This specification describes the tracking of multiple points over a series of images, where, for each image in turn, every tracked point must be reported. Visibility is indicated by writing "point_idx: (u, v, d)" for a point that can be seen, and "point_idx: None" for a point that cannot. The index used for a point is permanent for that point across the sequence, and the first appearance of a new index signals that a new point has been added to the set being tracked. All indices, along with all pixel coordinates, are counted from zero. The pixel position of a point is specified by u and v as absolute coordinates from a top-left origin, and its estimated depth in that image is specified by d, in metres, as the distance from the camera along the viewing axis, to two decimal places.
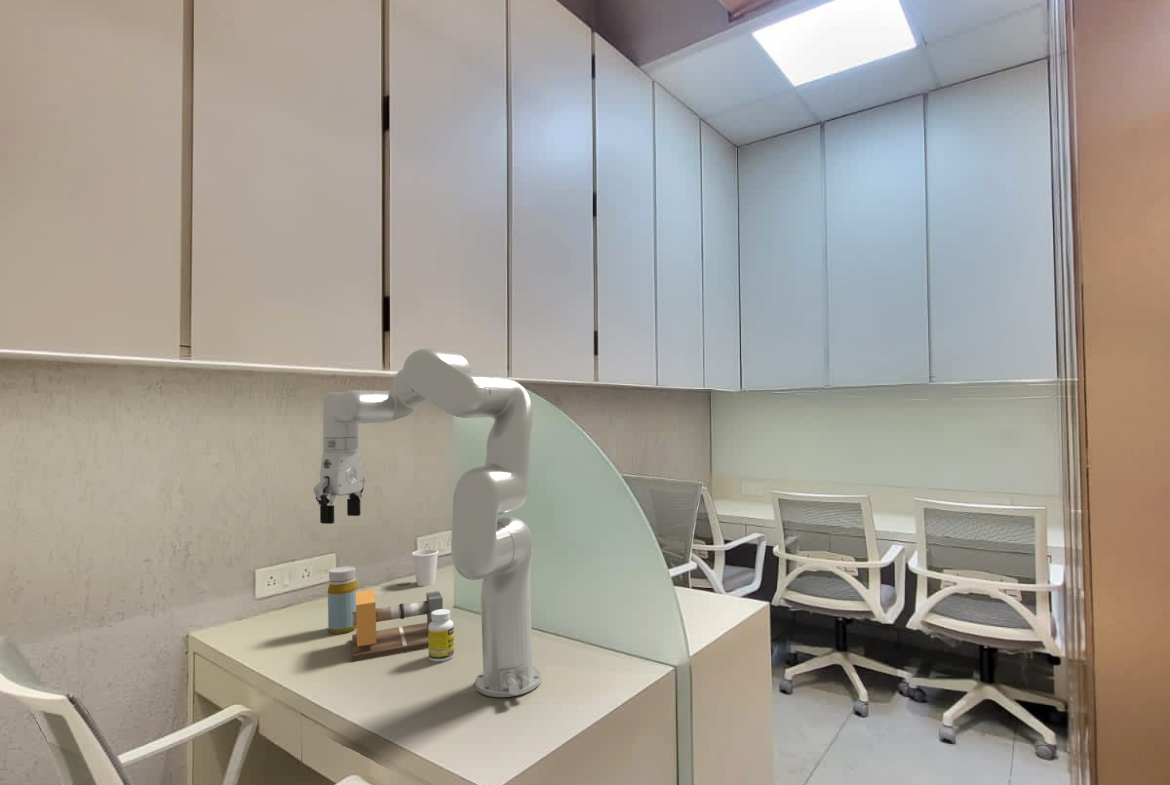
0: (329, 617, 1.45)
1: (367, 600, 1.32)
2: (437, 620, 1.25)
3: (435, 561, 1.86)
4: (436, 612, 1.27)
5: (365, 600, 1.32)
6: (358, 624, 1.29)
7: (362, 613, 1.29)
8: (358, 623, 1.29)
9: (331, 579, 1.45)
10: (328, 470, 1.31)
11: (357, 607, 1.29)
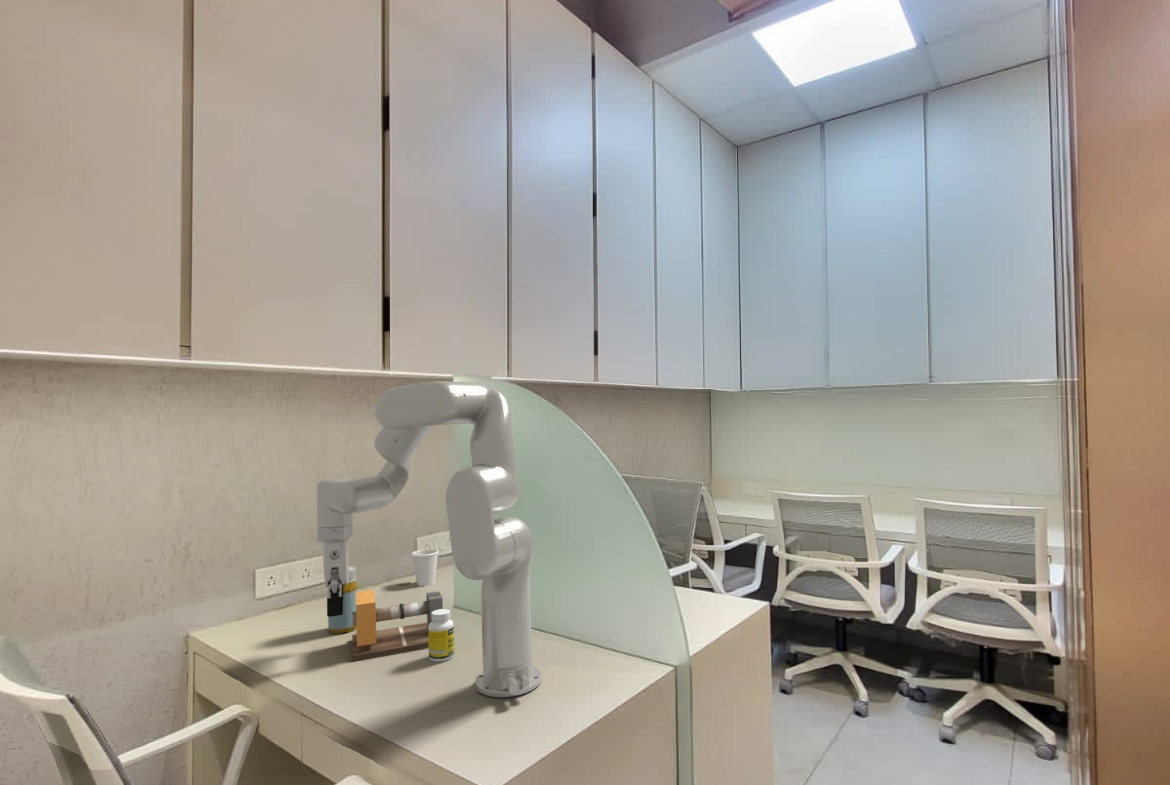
0: (329, 617, 1.45)
1: (367, 600, 1.32)
2: (437, 620, 1.25)
3: (435, 561, 1.86)
4: (436, 612, 1.27)
5: (365, 600, 1.32)
6: (358, 624, 1.29)
7: (362, 613, 1.29)
8: (358, 623, 1.29)
9: None
10: (336, 561, 1.29)
11: (357, 607, 1.29)
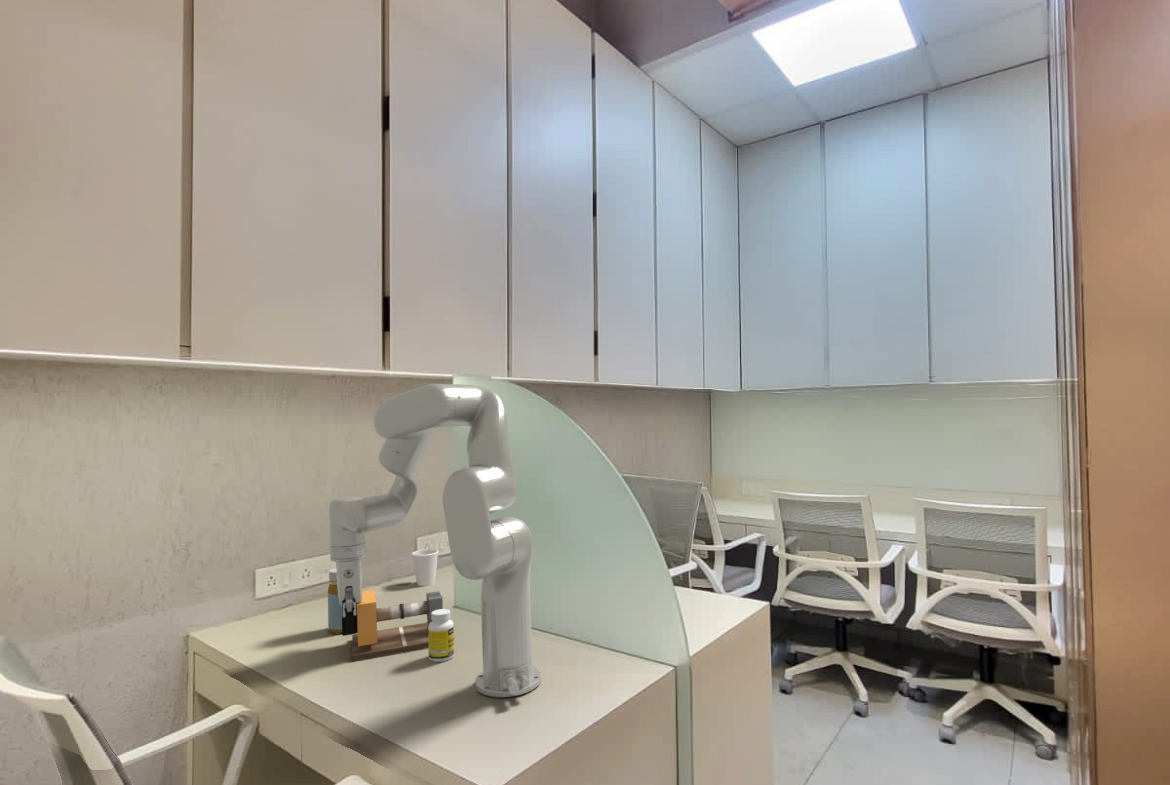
0: (329, 617, 1.45)
1: (368, 600, 1.32)
2: (437, 620, 1.25)
3: (435, 561, 1.86)
4: (436, 612, 1.27)
5: (366, 600, 1.32)
6: (359, 624, 1.29)
7: (363, 613, 1.29)
8: (359, 623, 1.29)
9: (331, 579, 1.45)
10: (350, 579, 1.29)
11: (358, 607, 1.29)
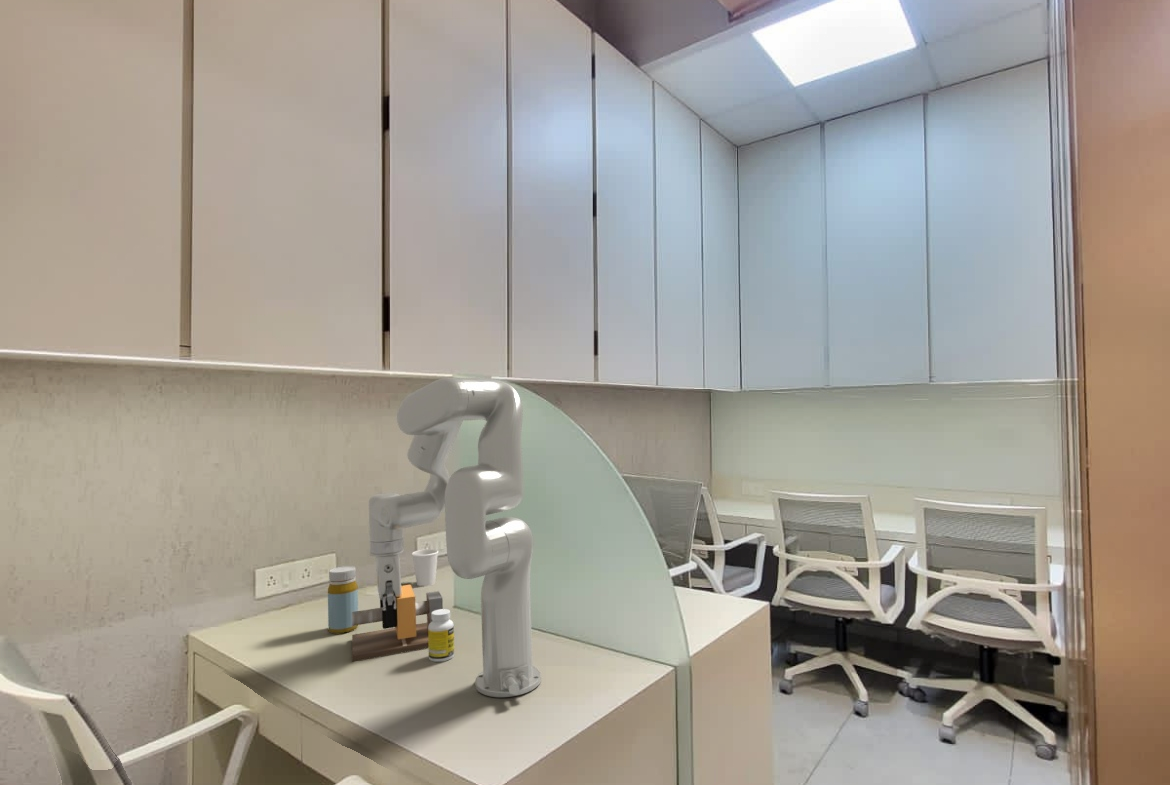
0: (329, 617, 1.45)
1: (407, 594, 1.35)
2: (437, 620, 1.25)
3: (435, 561, 1.86)
4: (436, 612, 1.27)
5: (405, 594, 1.35)
6: (399, 618, 1.32)
7: (402, 607, 1.33)
8: (399, 617, 1.32)
9: (331, 579, 1.45)
10: (390, 574, 1.32)
11: (398, 601, 1.32)
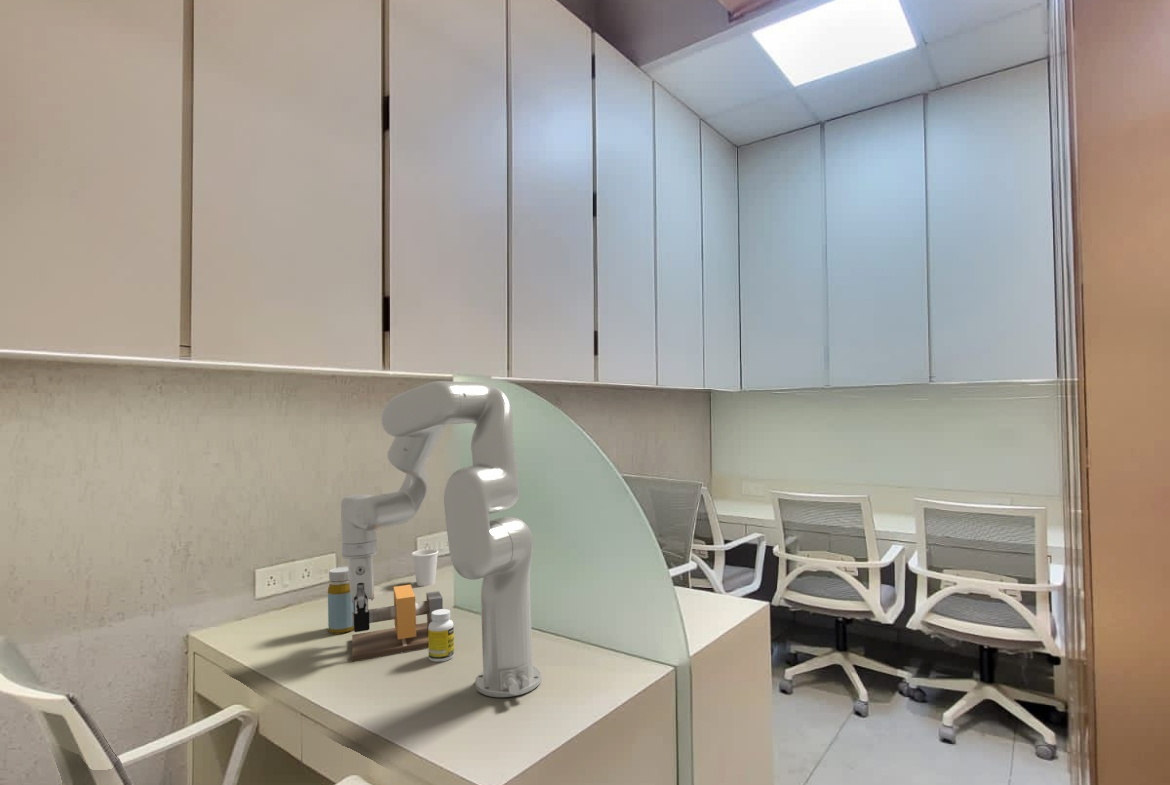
0: (329, 617, 1.45)
1: (407, 594, 1.35)
2: (437, 620, 1.25)
3: (435, 561, 1.86)
4: (436, 612, 1.27)
5: (405, 594, 1.35)
6: (399, 618, 1.32)
7: (402, 607, 1.33)
8: (399, 617, 1.32)
9: (331, 579, 1.45)
10: (362, 576, 1.30)
11: (398, 601, 1.32)
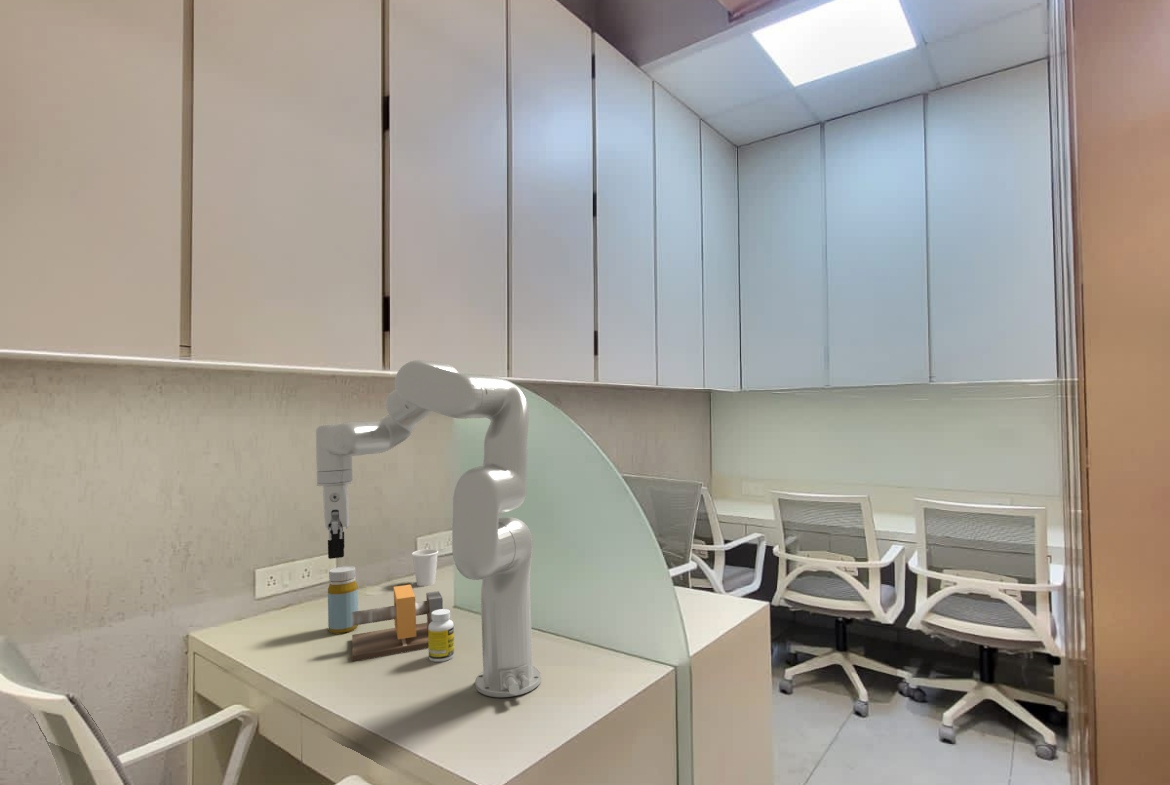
0: (329, 617, 1.45)
1: (407, 594, 1.35)
2: (437, 620, 1.25)
3: (435, 561, 1.86)
4: (436, 612, 1.27)
5: (405, 594, 1.35)
6: (399, 618, 1.32)
7: (402, 607, 1.33)
8: (399, 617, 1.32)
9: (331, 579, 1.45)
10: (337, 503, 1.29)
11: (398, 601, 1.32)
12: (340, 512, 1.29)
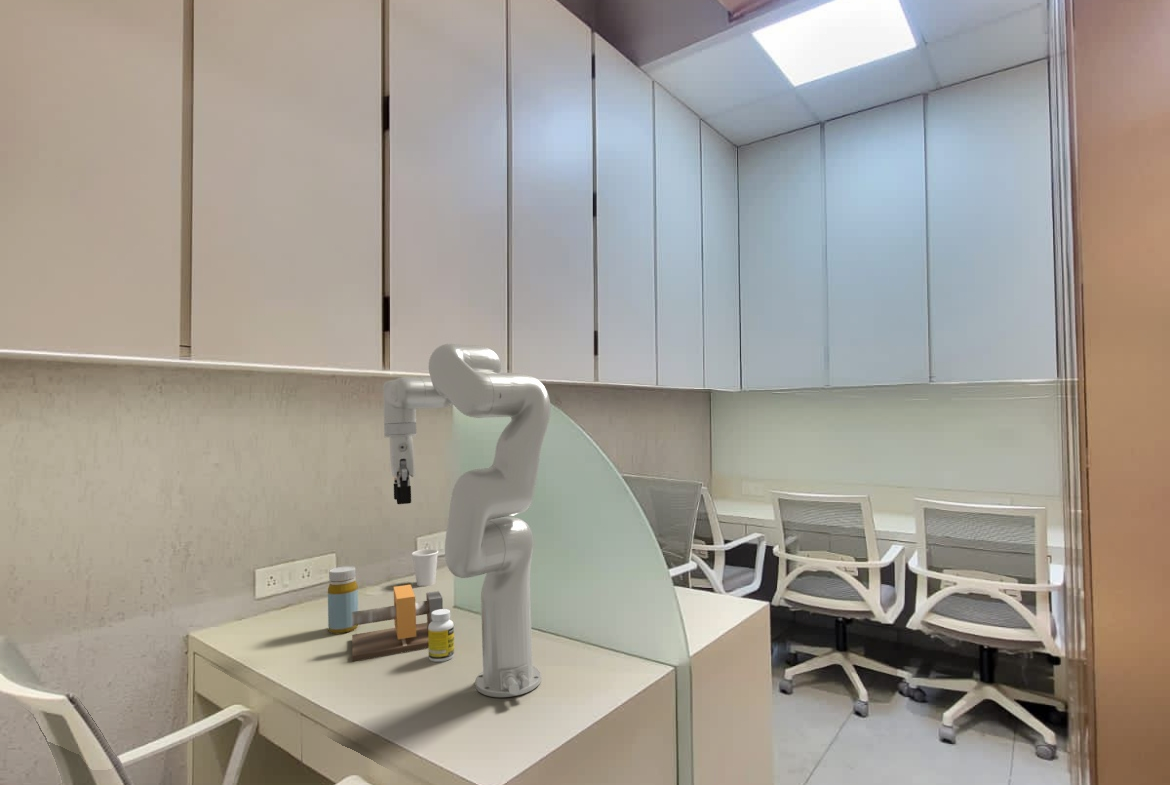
0: (329, 617, 1.45)
1: (407, 594, 1.35)
2: (437, 620, 1.25)
3: (435, 561, 1.86)
4: (436, 612, 1.27)
5: (405, 594, 1.35)
6: (399, 618, 1.32)
7: (402, 607, 1.33)
8: (399, 617, 1.32)
9: (331, 579, 1.45)
10: (404, 453, 1.38)
11: (398, 601, 1.32)
12: (407, 461, 1.38)
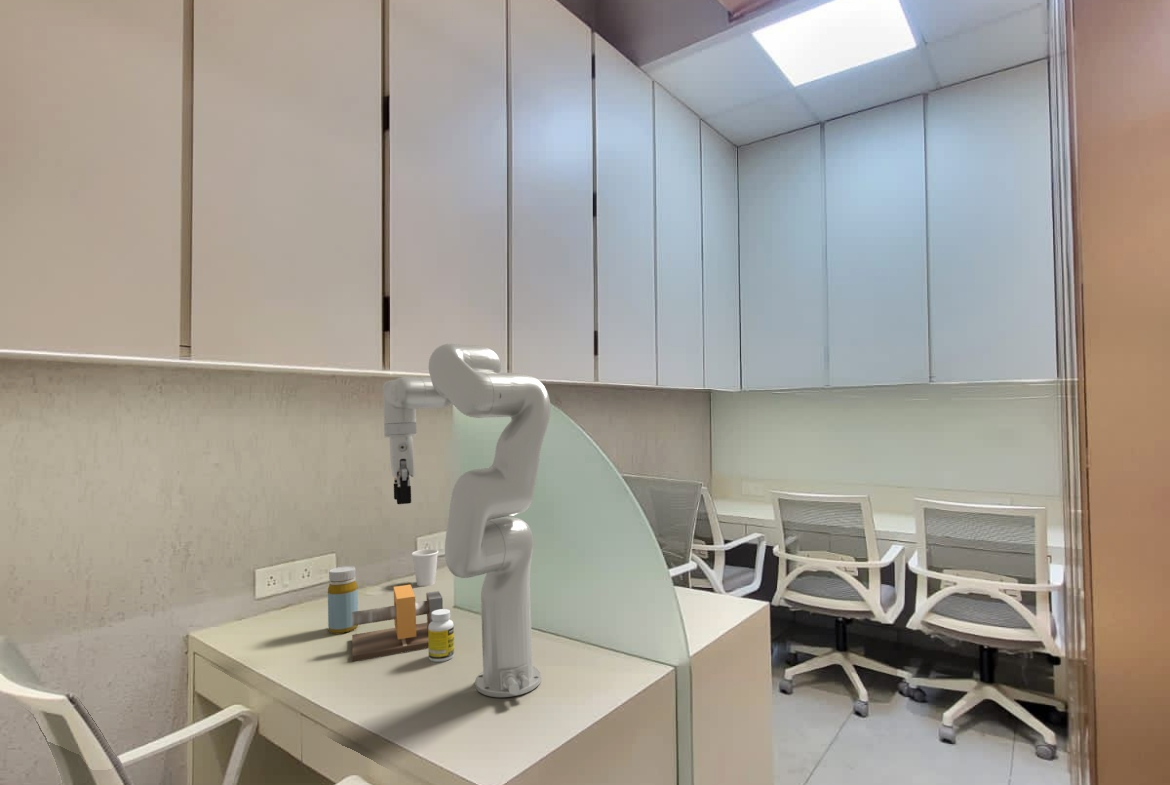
0: (329, 617, 1.45)
1: (407, 594, 1.35)
2: (437, 620, 1.25)
3: (435, 561, 1.86)
4: (436, 612, 1.27)
5: (405, 594, 1.35)
6: (399, 618, 1.32)
7: (402, 607, 1.33)
8: (399, 617, 1.32)
9: (331, 579, 1.45)
10: (404, 453, 1.38)
11: (398, 601, 1.32)
12: (407, 461, 1.38)
